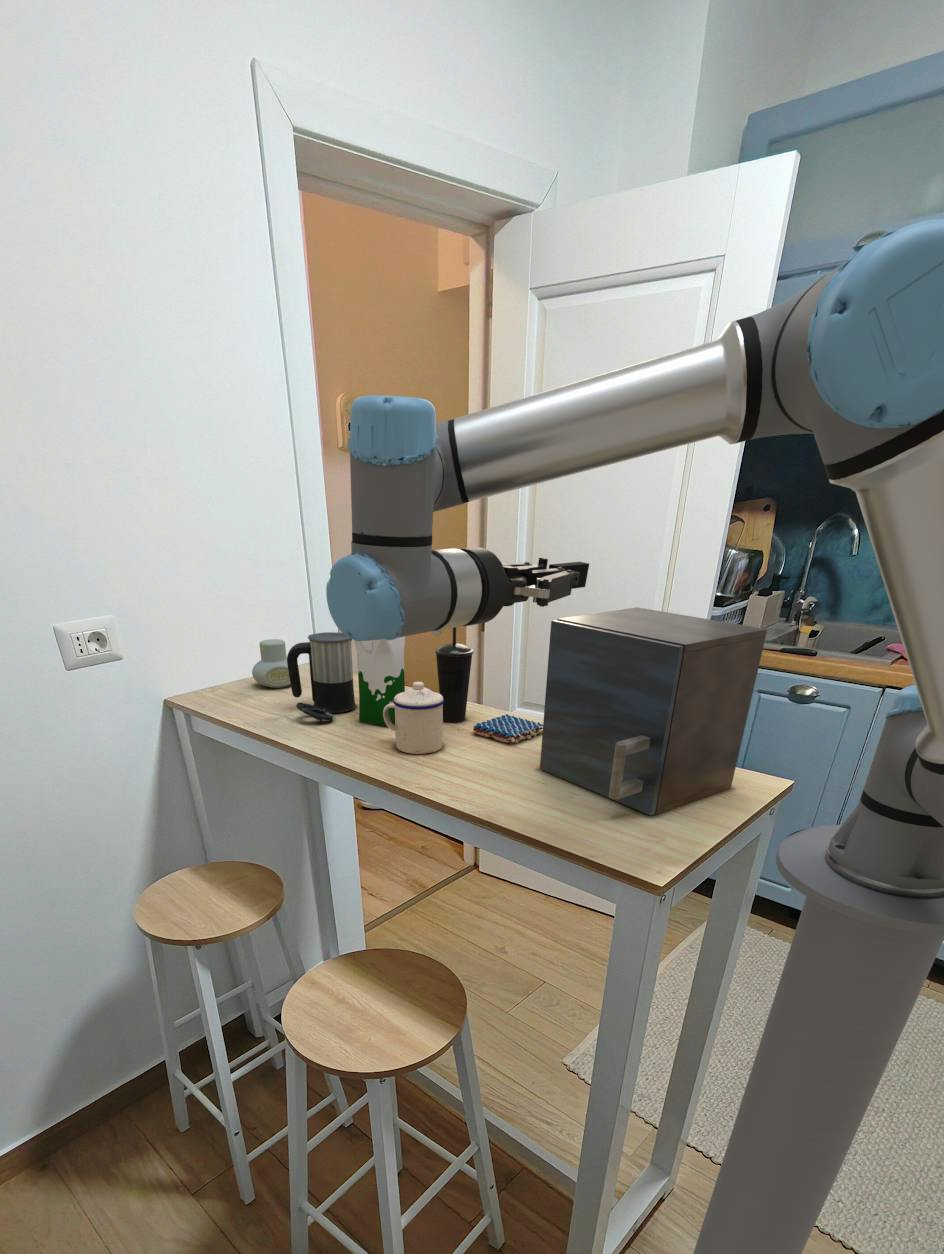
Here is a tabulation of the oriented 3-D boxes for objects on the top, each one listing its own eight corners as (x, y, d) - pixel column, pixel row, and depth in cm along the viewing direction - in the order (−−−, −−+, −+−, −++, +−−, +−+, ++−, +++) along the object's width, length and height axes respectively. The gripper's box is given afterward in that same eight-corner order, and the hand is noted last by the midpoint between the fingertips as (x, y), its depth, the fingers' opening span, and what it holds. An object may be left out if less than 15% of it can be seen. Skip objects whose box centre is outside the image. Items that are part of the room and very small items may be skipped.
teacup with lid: (452, 743, 132) (452, 679, 126) (429, 758, 126) (428, 691, 120) (397, 734, 137) (395, 672, 131) (372, 748, 131) (368, 683, 124)
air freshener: (258, 691, 165) (252, 646, 159) (250, 683, 171) (244, 640, 166) (304, 686, 168) (299, 642, 163) (294, 678, 175) (290, 636, 170)
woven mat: (546, 733, 137) (547, 723, 136) (511, 746, 131) (512, 735, 130) (505, 722, 143) (506, 712, 142) (470, 734, 137) (470, 723, 136)
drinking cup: (478, 716, 147) (481, 613, 136) (462, 726, 141) (464, 620, 131) (445, 711, 150) (445, 610, 139) (428, 721, 144) (427, 616, 134)
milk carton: (378, 711, 151) (373, 610, 140) (413, 718, 146) (411, 614, 136) (352, 721, 144) (345, 617, 134) (388, 729, 140) (384, 621, 130)
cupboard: (655, 815, 104) (685, 644, 92) (544, 768, 121) (557, 618, 109) (731, 788, 113) (767, 629, 100) (617, 747, 130) (637, 607, 117)
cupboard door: (623, 825, 101) (649, 652, 88) (513, 776, 118) (522, 624, 105) (655, 814, 104) (684, 645, 92) (543, 767, 121) (555, 619, 108)
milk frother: (350, 700, 158) (346, 630, 150) (370, 719, 145) (366, 644, 138) (287, 707, 154) (279, 635, 146) (302, 727, 141) (294, 650, 133)
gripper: (412, 613, 80) (536, 596, 95) (501, 639, 73) (620, 616, 88) (416, 539, 76) (545, 533, 91) (511, 559, 69) (634, 549, 84)
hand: (582, 574), depth 89 cm, fingers closed
